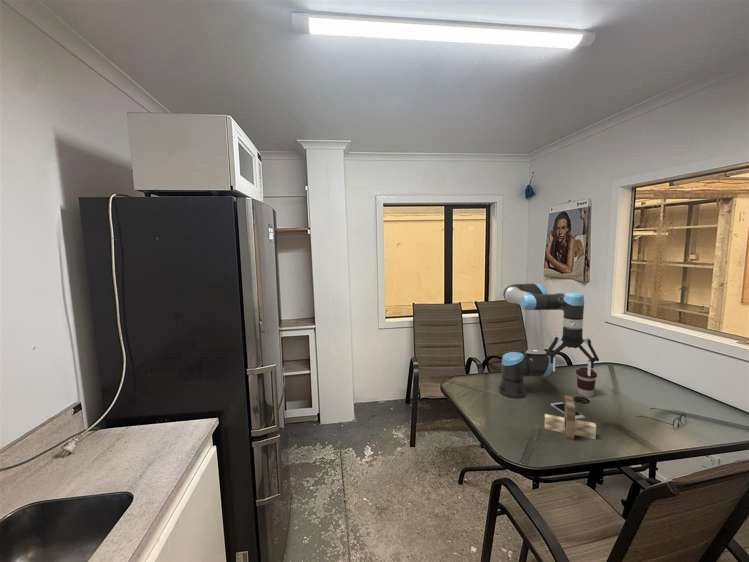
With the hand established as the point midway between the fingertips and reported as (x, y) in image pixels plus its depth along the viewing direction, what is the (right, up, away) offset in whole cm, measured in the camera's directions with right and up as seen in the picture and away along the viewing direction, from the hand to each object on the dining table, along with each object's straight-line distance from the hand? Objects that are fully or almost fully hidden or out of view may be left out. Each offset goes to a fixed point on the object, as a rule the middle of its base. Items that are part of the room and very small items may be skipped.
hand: (570, 372), depth 142 cm
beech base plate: (+1, -29, +3) cm, 29 cm away
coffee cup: (+32, -24, +37) cm, 55 cm away
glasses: (+51, -27, +11) cm, 59 cm away
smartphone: (+11, -27, +21) cm, 36 cm away
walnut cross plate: (+1, -29, +3) cm, 29 cm away
